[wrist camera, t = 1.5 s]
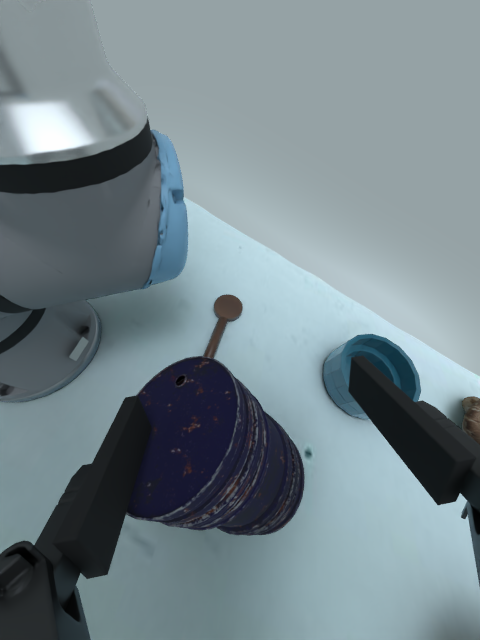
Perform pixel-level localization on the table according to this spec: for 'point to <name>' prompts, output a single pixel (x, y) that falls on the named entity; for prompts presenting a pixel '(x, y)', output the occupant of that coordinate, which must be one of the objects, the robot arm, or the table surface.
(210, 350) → the spoon
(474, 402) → the mushroom
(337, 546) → the table surface
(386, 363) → the bowl
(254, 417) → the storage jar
